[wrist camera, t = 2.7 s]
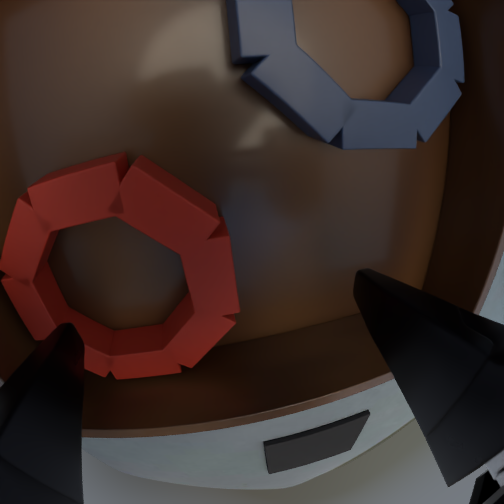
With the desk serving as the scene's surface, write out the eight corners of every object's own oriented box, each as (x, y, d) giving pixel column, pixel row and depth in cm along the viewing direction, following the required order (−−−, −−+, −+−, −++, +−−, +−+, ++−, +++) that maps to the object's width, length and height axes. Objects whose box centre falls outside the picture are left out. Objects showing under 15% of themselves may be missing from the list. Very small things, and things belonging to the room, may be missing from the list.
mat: (268, 470, 26) (269, 474, 26) (263, 441, 21) (264, 446, 21) (349, 446, 28) (350, 449, 27) (368, 409, 23) (370, 413, 22)
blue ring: (239, 149, 9) (249, 158, 8) (218, -74, 5) (225, -96, 3) (437, 142, 10) (463, 150, 9) (423, -33, 6) (446, -39, 5)
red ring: (71, 358, 12) (65, 382, 11) (-7, 194, 8) (-29, 210, 6) (241, 335, 13) (247, 361, 12) (213, 134, 9) (218, 141, 7)
